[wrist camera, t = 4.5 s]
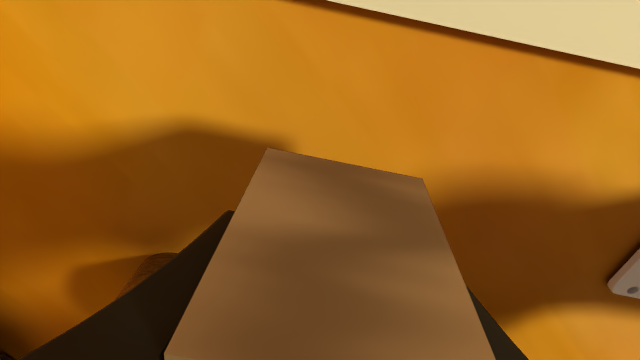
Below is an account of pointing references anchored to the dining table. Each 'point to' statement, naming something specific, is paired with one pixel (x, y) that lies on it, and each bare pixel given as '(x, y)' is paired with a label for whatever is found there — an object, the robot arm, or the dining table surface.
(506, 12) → the cream mat
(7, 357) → the gaming controller
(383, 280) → the walnut block
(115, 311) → the robot arm
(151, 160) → the dining table surface
